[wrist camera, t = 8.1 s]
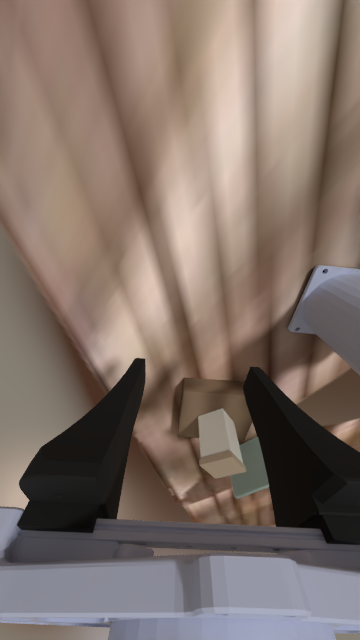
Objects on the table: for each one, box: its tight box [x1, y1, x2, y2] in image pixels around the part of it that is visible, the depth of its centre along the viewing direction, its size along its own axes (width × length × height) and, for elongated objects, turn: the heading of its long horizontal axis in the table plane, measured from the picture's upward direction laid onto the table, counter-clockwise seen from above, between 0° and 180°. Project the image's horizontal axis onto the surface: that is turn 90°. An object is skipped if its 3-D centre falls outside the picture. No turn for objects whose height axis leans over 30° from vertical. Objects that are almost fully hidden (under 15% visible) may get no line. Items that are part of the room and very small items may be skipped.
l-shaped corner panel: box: [231, 436, 269, 498], centre depth 35 cm, size 12×12×8 cm
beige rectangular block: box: [198, 408, 247, 479], centre depth 26 cm, size 4×4×6 cm
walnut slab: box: [178, 378, 252, 440], centre depth 30 cm, size 11×11×3 cm
